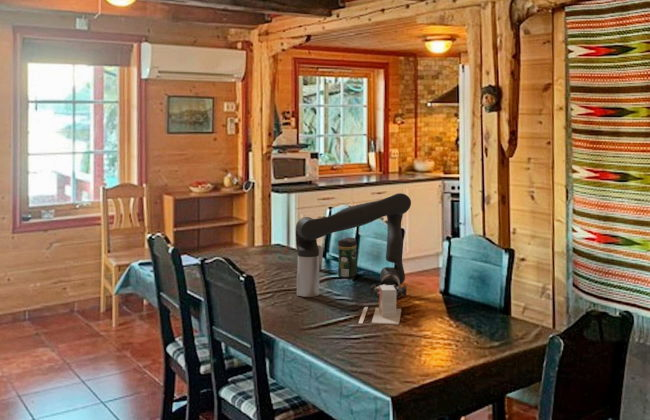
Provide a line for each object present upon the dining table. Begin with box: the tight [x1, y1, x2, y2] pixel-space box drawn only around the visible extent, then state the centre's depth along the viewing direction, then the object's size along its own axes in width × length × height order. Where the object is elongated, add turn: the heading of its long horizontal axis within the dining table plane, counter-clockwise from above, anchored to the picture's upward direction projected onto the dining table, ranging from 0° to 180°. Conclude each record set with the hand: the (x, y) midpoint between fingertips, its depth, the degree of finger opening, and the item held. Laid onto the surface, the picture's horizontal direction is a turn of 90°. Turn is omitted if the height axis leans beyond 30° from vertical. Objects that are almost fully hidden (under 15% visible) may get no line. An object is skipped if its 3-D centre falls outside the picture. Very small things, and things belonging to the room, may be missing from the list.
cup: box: [317, 244, 325, 271], centre depth 341 cm, size 7×7×12 cm
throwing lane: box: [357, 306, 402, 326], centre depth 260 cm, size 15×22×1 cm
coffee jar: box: [337, 237, 358, 279], centre depth 327 cm, size 10×8×19 cm
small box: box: [378, 284, 398, 317], centre depth 260 cm, size 8×6×10 cm
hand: (387, 294), depth 261 cm, fingers open, 8 cm apart
